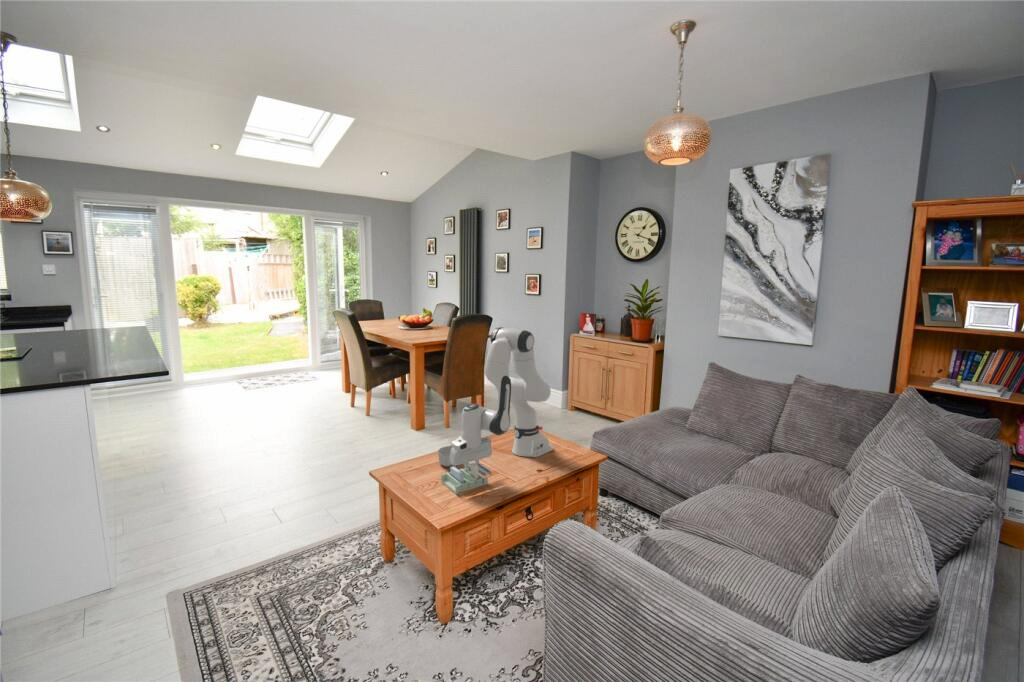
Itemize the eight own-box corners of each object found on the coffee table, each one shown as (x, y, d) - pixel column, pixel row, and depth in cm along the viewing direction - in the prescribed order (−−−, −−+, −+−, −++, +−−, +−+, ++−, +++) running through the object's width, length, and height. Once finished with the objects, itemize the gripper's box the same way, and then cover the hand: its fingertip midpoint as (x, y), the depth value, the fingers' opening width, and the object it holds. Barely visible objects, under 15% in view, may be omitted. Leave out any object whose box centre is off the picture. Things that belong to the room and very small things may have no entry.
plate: (468, 472, 209) (467, 459, 208) (478, 478, 202) (478, 465, 201) (465, 473, 208) (464, 460, 207) (475, 479, 201) (474, 466, 200)
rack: (471, 473, 214) (471, 459, 212) (487, 484, 202) (487, 469, 201) (441, 482, 204) (440, 467, 203) (456, 494, 193) (455, 478, 192)
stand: (477, 464, 224) (477, 460, 224) (491, 473, 213) (491, 470, 213) (468, 466, 221) (468, 463, 221) (482, 476, 211) (482, 472, 210)
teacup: (456, 470, 217) (456, 454, 216) (434, 468, 219) (434, 452, 218) (465, 459, 230) (464, 443, 229) (444, 457, 233) (444, 442, 231)
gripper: (487, 433, 211) (487, 462, 213) (447, 442, 199) (448, 472, 201) (494, 437, 206) (494, 466, 208) (454, 447, 194) (455, 477, 196)
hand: (471, 469), depth 204 cm, fingers closed on plate, 2 cm apart
